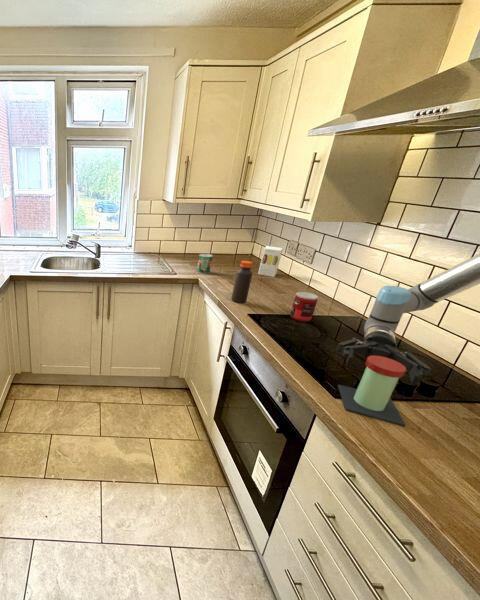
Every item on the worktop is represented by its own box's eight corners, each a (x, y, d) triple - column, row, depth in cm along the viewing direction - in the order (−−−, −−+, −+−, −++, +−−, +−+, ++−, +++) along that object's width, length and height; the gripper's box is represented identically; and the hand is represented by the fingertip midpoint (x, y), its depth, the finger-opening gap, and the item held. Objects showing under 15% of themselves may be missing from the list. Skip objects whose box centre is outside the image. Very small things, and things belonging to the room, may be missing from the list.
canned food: (293, 312, 144) (299, 290, 140) (313, 318, 138) (321, 295, 134) (286, 317, 140) (293, 294, 135) (307, 323, 134) (315, 299, 130)
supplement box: (257, 274, 197) (263, 248, 191) (259, 271, 204) (265, 245, 198) (274, 277, 192) (281, 250, 186) (276, 273, 199) (283, 247, 193)
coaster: (389, 399, 90) (390, 397, 89) (404, 426, 80) (405, 424, 80) (337, 386, 95) (338, 384, 95) (345, 410, 85) (346, 408, 85)
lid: (398, 365, 84) (400, 360, 84) (408, 381, 78) (411, 375, 78) (361, 358, 88) (364, 352, 87) (369, 372, 82) (371, 366, 81)
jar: (380, 399, 88) (398, 362, 84) (388, 414, 83) (407, 375, 78) (351, 392, 91) (366, 355, 87) (356, 405, 86) (372, 367, 81)
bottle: (231, 302, 156) (239, 262, 148) (231, 297, 161) (239, 259, 154) (246, 304, 153) (255, 264, 145) (246, 299, 159) (254, 261, 151)
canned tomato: (212, 273, 199) (215, 256, 195) (200, 273, 198) (203, 256, 194) (205, 269, 206) (208, 253, 202) (194, 270, 205) (197, 253, 201)
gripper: (429, 365, 96) (440, 401, 81) (328, 339, 111) (321, 365, 96) (440, 344, 93) (453, 377, 78) (335, 319, 108) (329, 343, 93)
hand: (380, 370), depth 87 cm, fingers open, 13 cm apart
